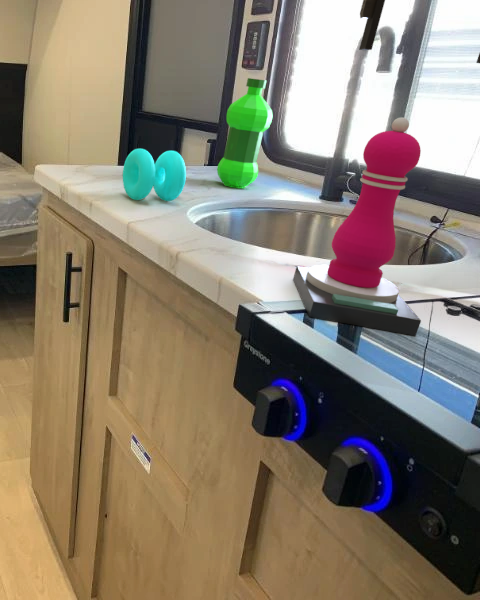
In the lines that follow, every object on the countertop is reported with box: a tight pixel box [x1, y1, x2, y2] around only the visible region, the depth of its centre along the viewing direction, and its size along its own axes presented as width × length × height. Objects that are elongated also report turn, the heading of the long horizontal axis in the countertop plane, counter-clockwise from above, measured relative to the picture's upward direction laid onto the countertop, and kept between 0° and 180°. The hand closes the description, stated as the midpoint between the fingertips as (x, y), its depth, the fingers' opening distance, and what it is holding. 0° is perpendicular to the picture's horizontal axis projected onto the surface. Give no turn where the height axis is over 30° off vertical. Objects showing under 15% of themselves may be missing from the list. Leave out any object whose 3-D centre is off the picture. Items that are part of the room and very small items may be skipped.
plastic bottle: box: [216, 77, 273, 189], centre depth 144 cm, size 10×10×25 cm
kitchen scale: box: [292, 264, 422, 337], centre depth 76 cm, size 12×14×3 cm
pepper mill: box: [328, 117, 422, 288], centre depth 73 cm, size 7×7×20 cm
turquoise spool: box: [122, 147, 187, 202], centre depth 119 cm, size 10×10×10 cm
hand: (424, 56), depth 71 cm, fingers open, 13 cm apart
